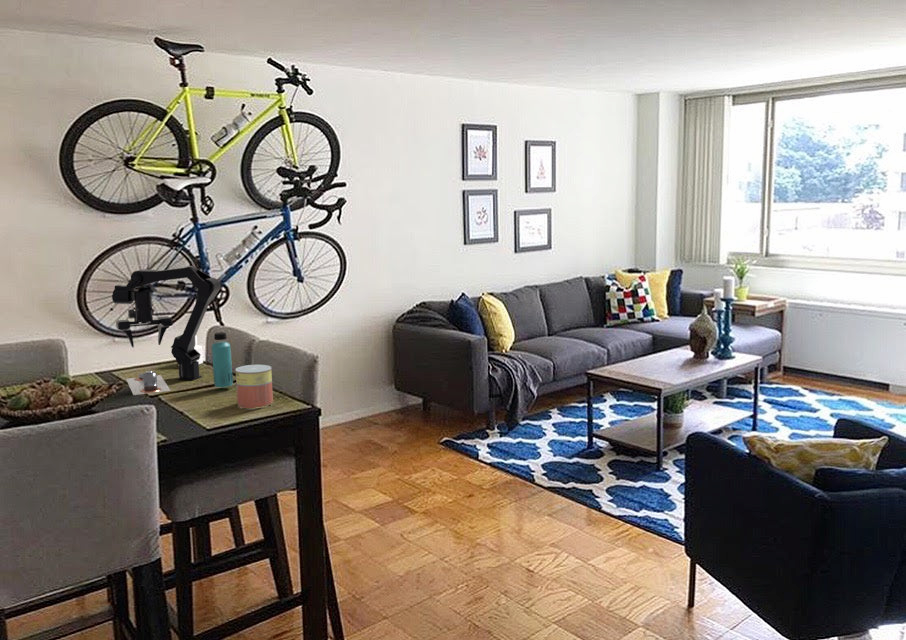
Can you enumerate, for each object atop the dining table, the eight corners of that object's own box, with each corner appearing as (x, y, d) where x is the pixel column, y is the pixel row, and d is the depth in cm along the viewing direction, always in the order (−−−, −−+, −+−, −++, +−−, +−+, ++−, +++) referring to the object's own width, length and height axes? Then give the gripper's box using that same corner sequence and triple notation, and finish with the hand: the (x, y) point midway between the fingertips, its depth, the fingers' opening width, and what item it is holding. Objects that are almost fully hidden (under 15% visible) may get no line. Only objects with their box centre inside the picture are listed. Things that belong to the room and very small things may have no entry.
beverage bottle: (230, 391, 264) (227, 334, 260) (211, 391, 263) (207, 334, 260) (235, 386, 270) (232, 331, 267) (217, 386, 270) (213, 331, 267)
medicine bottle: (177, 366, 303) (175, 336, 300) (187, 362, 309) (185, 333, 307) (193, 366, 301) (191, 337, 299) (203, 362, 308) (201, 333, 306)
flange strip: (125, 378, 282) (125, 374, 282) (160, 374, 288) (159, 370, 288) (133, 395, 259) (133, 390, 259) (170, 390, 265) (170, 385, 265)
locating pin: (160, 388, 267) (158, 370, 266) (151, 391, 263) (150, 373, 262) (149, 387, 268) (148, 369, 267) (141, 391, 264) (139, 372, 263)
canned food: (244, 399, 253) (242, 364, 251) (277, 399, 253) (275, 364, 251) (232, 409, 242) (230, 372, 240) (267, 409, 242) (265, 372, 240)
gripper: (165, 299, 290) (167, 339, 293) (112, 303, 281) (115, 344, 283) (171, 303, 281) (174, 345, 284) (117, 307, 271) (120, 350, 274)
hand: (146, 346), depth 281 cm, fingers open, 9 cm apart
